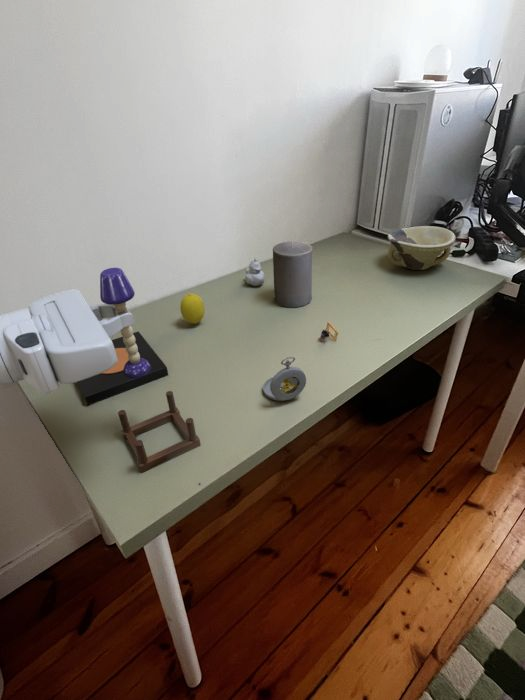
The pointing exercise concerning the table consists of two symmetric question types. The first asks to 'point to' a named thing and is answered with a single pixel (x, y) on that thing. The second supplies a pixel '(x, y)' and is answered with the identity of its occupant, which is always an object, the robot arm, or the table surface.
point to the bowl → (420, 246)
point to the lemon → (192, 308)
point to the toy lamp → (117, 294)
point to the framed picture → (328, 332)
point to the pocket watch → (285, 383)
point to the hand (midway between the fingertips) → (128, 312)
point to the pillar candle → (292, 273)
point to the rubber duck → (254, 274)
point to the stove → (115, 378)
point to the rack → (142, 427)
